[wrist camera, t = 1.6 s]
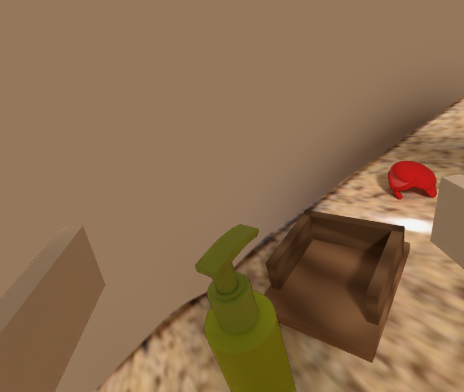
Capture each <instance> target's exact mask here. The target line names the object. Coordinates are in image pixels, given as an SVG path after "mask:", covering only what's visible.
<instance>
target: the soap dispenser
mask: <svg viewBox="0 0 464 392" xmlns="http://www.w3.org/2000/svg"><path fill="white" fill-rule="evenodd" d="M258 232H259V229H257V228H253V227H249V226H245V225H241V224H240V225H238V226H236V227H234V228H232V229H231V230H229V231H228V232H226V233H225V234H224V235H223V236H222V237H221V238H219V239H218V240H217V241H216V242H215V243H214V245H213V246H212V247H211V248H210V249H209V250H208V251H207V252H206V253H205V254H204V256H203V257H202V258H201V259H200V260H199V262H198V263H197V264H196V265H195V267H196V270H197V271H198V272H199V273H202V274H204V275H207V276H209V277H212V279H213V282H212V283H211V284H210V286H209V288H208V291H207V297H208V300H209V303H210V305H211V309H210V310H209V312H208V314H207V316H206V319H205V324H204V331H205V335H206V338H207V340H208V342H209V345H210V347H211V349H212V351H213V353H214V355H215V358H216V360H217V362H218V364H219V366H220V368H221V371H222V373H223V375H224V377H225V379H226V382H227V384H228V386H229V388H230V390H231V392H296V388H295V384H294V381H293V377H292V373H291V369H290V365H289V362H288V358H287V354H286V350H285V347H284V343H283V339H282V335H281V331H280V328H279V324H278V320H277V316H276V312H275V309H274V306H273V304H272V303H271V301H270V300H269V299H268V298H267V297H265V296H264V295H262V294H261V293H258V292H255V291H253V290H252V287H251V284H250V281H249V279H248V278H247V277H246V276H245V275H243V274H241V273H237V272H235V271H234V268H233V265H232V261H233V260H234V258H235V257H236V256H237V255H238V254H239V253H240V251H241V250H242V249H243V248H244V247H245V246H246V245H247V244H248V243H249V242H250V241H251V240H253V239H254V238H255V237H257V235H258Z"/></svg>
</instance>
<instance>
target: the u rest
mask: <svg viewBox="0 0 464 392" xmlns="http://www.w3.org/2000/svg"><path fill="white" fill-rule="evenodd" d="M404 230H405V227H404V226H398V225H392V224H386V223H380V222H374V221H368V220H362V219H356V218H350V217H344V216H339V215H333V214H327V213H321V212H315V211H309V210H306V211H305V212H304V213H303V215H302V216H301V217H300V219H299V220H298V221H297V223H296V224H295V225H294V227H293V228H292V229H291V231H290V232H289V233H288V235H287V236H286V237H285V239H284V240H283V241H282V242H281V244H280V245H279V246H278V248H277V249H276V250H275V252H274V253H273V254H272V256H271V257H270V258H269V260H268V261H267V262H266V266H267V270H268V274H269V278H270V282H271V286H270V288H269V289H268V291H267V292H266V294H265V295H264V296H265V297H267V298H268V299H269V300H270V301H271V303H272V304H273V306H274V309H275V312H276V316H277V320H278V322H279V323H281V324H283V325H286V326H288V327H290V328H293V329H295V330H297V331H300V332H302V333H304V334H307V335H309V336H311V337H314V338H316V339H318V340H320V341H323V342H325V343H327V344H330V345H332V346H334V347H337V348H339V349H341V350H344V351H346V352H348V353H351V354H353V355H355V356H358V357H360V358H362V359H365V360H367V361H369V362H371V363H372V362H373V359H374V356H375V353H376V350H377V347H378V344H379V341H380V338H381V335H382V332H383V329H384V326H385V323H386V320H387V317H388V314H389V311H390V308H391V305H392V302H393V299H394V296H395V293H396V290H397V287H398V284H399V281H400V278H401V275H402V272H403V269H404V266H405V263H406V260H407V257H408V254H409V249H410V243H407V242H404Z"/></svg>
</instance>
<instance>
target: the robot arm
mask: <svg viewBox="0 0 464 392" xmlns="http://www.w3.org/2000/svg"><path fill="white" fill-rule="evenodd" d="M430 241H431V242H433V243H434V244H435V245H436V246H437V247H438V248H440V249H441V250H442V251H443V252H444V253H445V254H447V255H448V256H449V257H450V258H451V259H453V260H454V261H455V262H456V263H457V264H458V265H460V266H461V267H462V268H463V269H464V175H463V174H458V175H451V176H443V177H441V182H440V188H439V193H438V199H437V205H436V211H435V217H434V222H433V228H432V234H431V240H430ZM104 286H105V283H104V280H103V277H102V275H101V272H100V269H99V267H98V264H97V261H96V259H95V256H94V253H93V251H92V248H91V245H90V243H89V240H88V237H87V235H86V232H85V229H84V227H83V225H81V226H74V227H67V228H62V229H61V230H60V231H59V232H58V233H57V235H56V236H55V237H54V238H53V239H52V240H51V242H50V243H49V244H48V245H47V246H46V247H45V248H44V249H43V251H42V252H41V253H40V254H39V255H38V256H37V257H36V259H35V260H34V261H33V262H32V263H31V264H30V265H29V267H28V268H27V269H26V270H25V271H24V272H23V273H22V275H21V276H20V277H19V278H18V279H17V280H16V281H15V283H14V284H13V285H12V286H11V287H10V288H9V289H8V291H7V292H6V293H5V294H4V295H3V297H1V299H0V392H55V390H56V388H57V386H58V384H59V382H60V380H61V378H62V376H63V373H64V371H65V369H66V367H67V365H68V363H69V361H70V359H71V356H72V354H73V352H74V350H75V348H76V346H77V343H78V342H79V339H80V337H81V335H82V333H83V331H84V329H85V327H86V325H87V322H88V320H89V318H90V316H91V314H92V312H93V310H94V308H95V305H96V303H97V301H98V299H99V297H100V295H101V293H102V291H103V288H104Z"/></svg>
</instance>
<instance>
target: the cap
mask: <svg viewBox="0 0 464 392" xmlns="http://www.w3.org/2000/svg"><path fill="white" fill-rule="evenodd" d="M388 180H389V184H390V187H391V189H392V191H393V192H394V194H395V195H396V197H397V199H402V195H401V194H400V192H399V191H404V190H408V189H410V188H412V187H416V188H419V189H425V191H426V192H427V193H428V194H429V195H430V196H431V197H435V196H436V194H437V190H436V186H435V185H436V177H435V175H434V173H433V172H432V171H431V170H430V169H429V168H427V167H426V166H424V165H422V164H420V163H417V162H413V161H400V162H397V163H395V164H394V165H393V166H392V167H391V169H390V171H389V173H388Z"/></svg>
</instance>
